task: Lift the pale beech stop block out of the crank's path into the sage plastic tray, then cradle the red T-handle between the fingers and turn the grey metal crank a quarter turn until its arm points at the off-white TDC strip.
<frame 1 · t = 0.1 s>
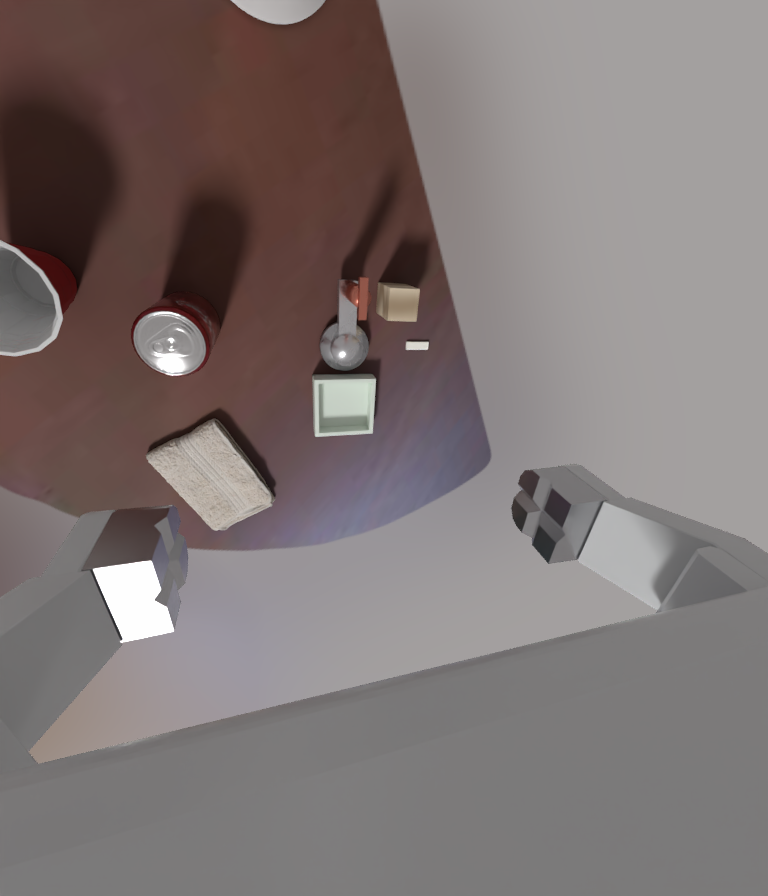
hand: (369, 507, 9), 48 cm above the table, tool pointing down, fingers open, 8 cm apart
tdc strip: (416, 345, 58), on the table
plastic cup: (49, 281, 43), on the table
stop block: (390, 298, 53), on the table
crank plinth: (343, 345, 55), on the table
tray: (342, 402, 59), on the table
crank: (353, 326, 47), point 7 cm above the table, hinge at 90.0°
washcloth: (217, 473, 60), on the table
soda can: (190, 320, 48), on the table
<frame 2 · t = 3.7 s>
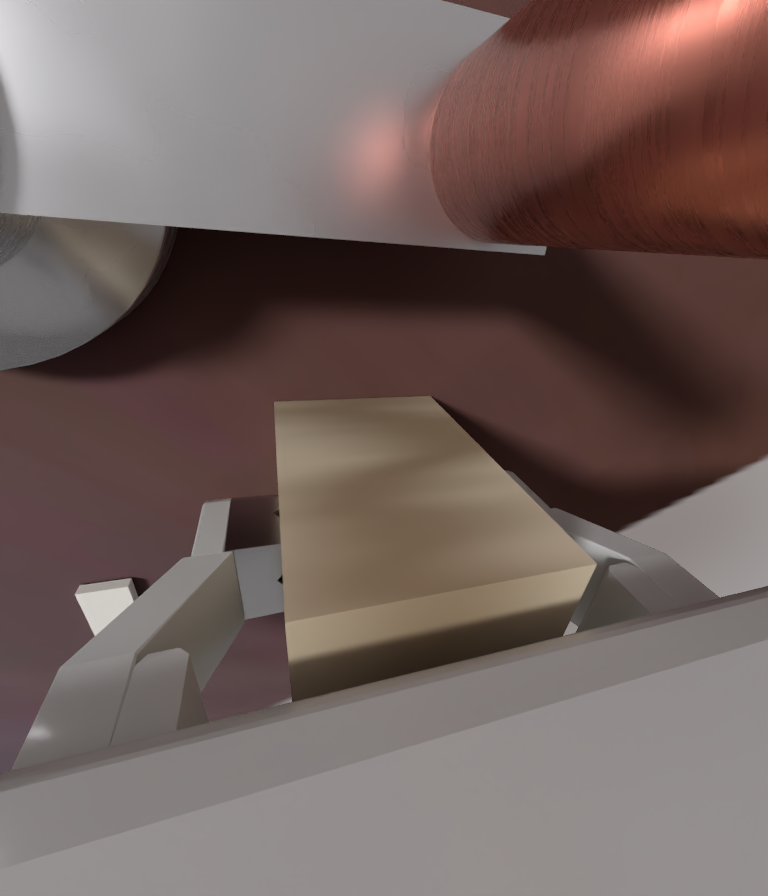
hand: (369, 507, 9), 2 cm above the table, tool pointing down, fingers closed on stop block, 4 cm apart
tdc strip: (123, 624, 11), on the table
stop block: (354, 466, 10), on the table, touching gripper
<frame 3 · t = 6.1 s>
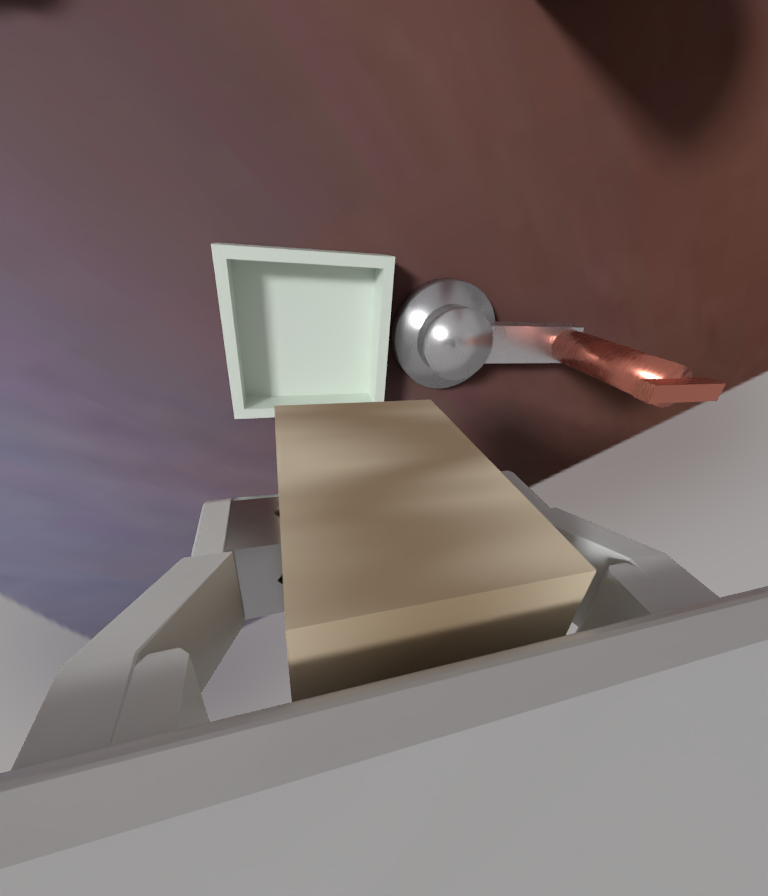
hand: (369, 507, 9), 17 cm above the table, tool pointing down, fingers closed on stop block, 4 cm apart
stop block: (354, 469, 10), point 16 cm above the table, touching gripper
crank plinth: (440, 333, 26), on the table
tray: (307, 331, 23), on the table
crank: (550, 362, 21), point 7 cm above the table, hinge at 90.0°
when the fingers open (5 cm above the table, at t = 8.8 s): stop block drops 2 cm, resting on tray.
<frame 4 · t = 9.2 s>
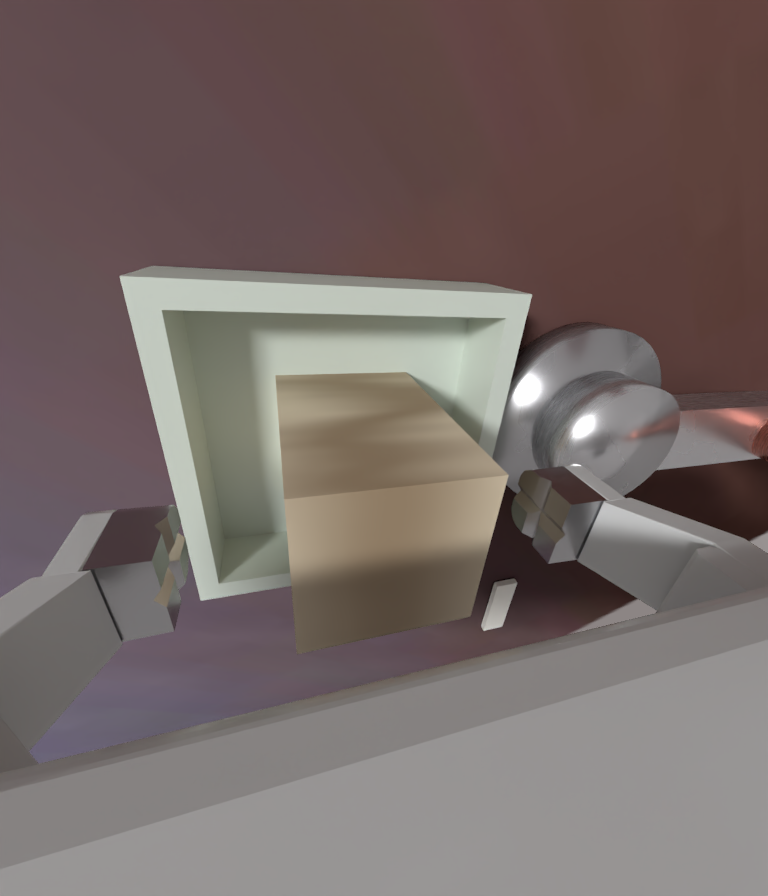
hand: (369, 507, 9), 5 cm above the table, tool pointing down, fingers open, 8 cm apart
tdc strip: (497, 603, 21), on the table
stop block: (342, 432, 12), resting on tray
crank plinth: (558, 411, 15), on the table
tray: (336, 424, 13), on the table
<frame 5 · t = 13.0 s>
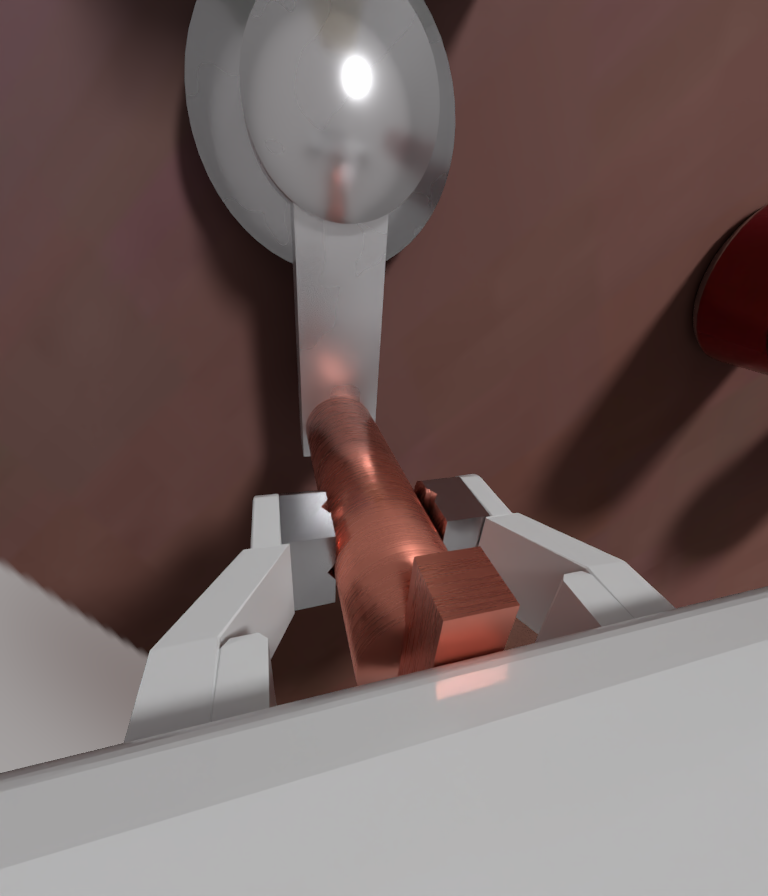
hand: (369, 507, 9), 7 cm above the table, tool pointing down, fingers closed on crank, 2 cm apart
crank plinth: (326, 137, 11), on the table
crank: (373, 328, 7), point 7 cm above the table, hinge at 90.0°, touching gripper
soda can: (746, 281, 18), on the table
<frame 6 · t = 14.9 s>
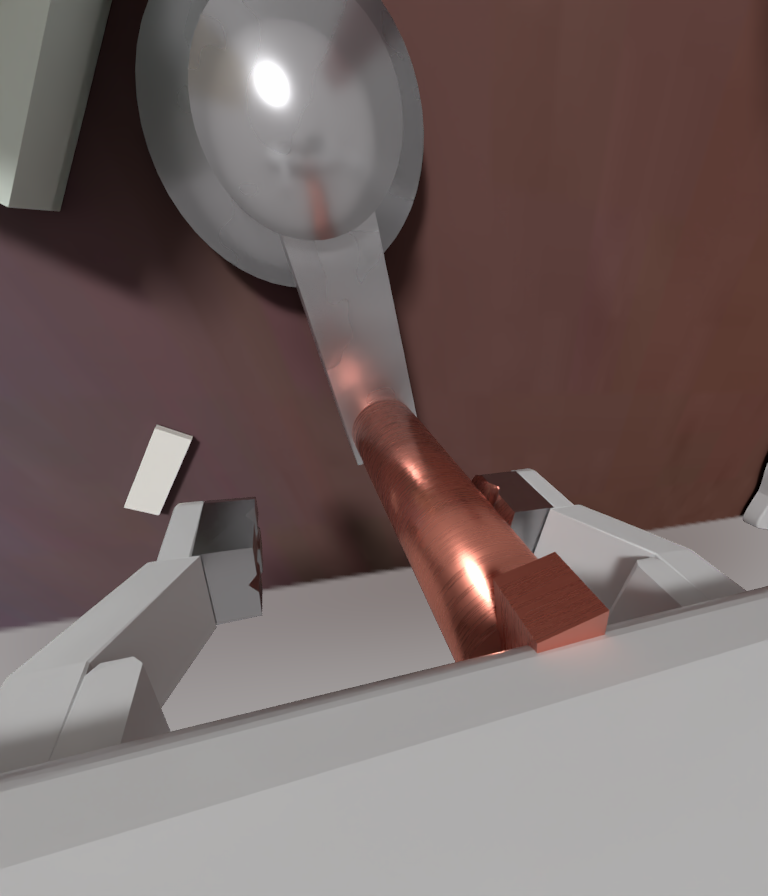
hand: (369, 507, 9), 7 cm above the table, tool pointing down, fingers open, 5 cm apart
tdc strip: (158, 470, 14), on the table
crank plinth: (291, 148, 11), on the table
crank: (393, 344, 7), point 7 cm above the table, hinge at 45.3°, touching gripper
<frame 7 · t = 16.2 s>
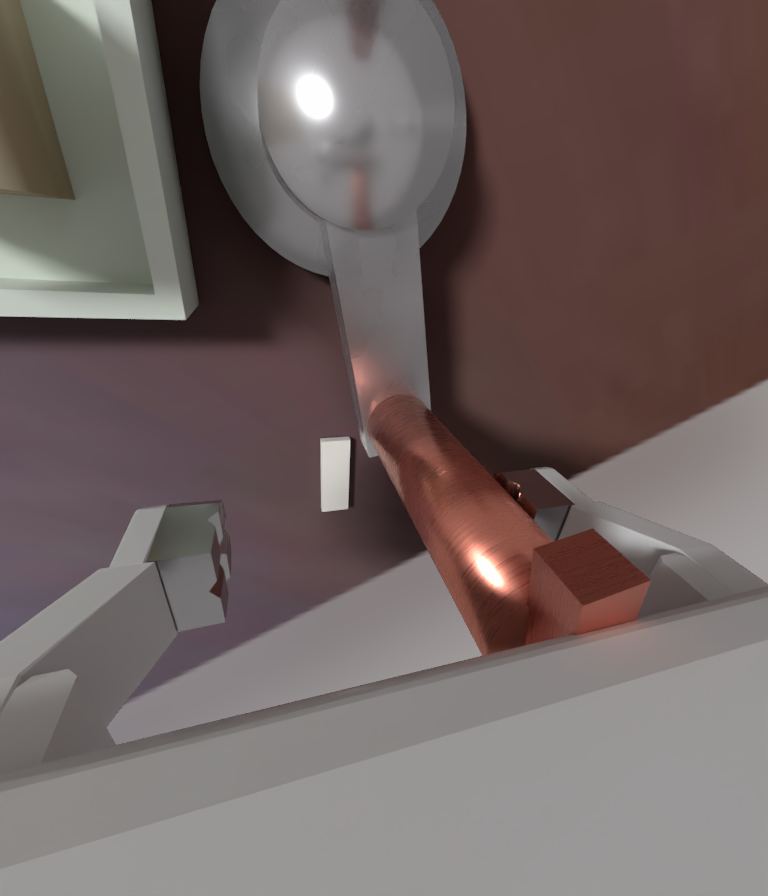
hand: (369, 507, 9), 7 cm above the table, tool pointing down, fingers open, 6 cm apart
tdc strip: (334, 473, 16), on the table
crank plinth: (337, 143, 11), on the table
crank: (433, 330, 8), point 7 cm above the table, hinge at 12.2°, touching gripper
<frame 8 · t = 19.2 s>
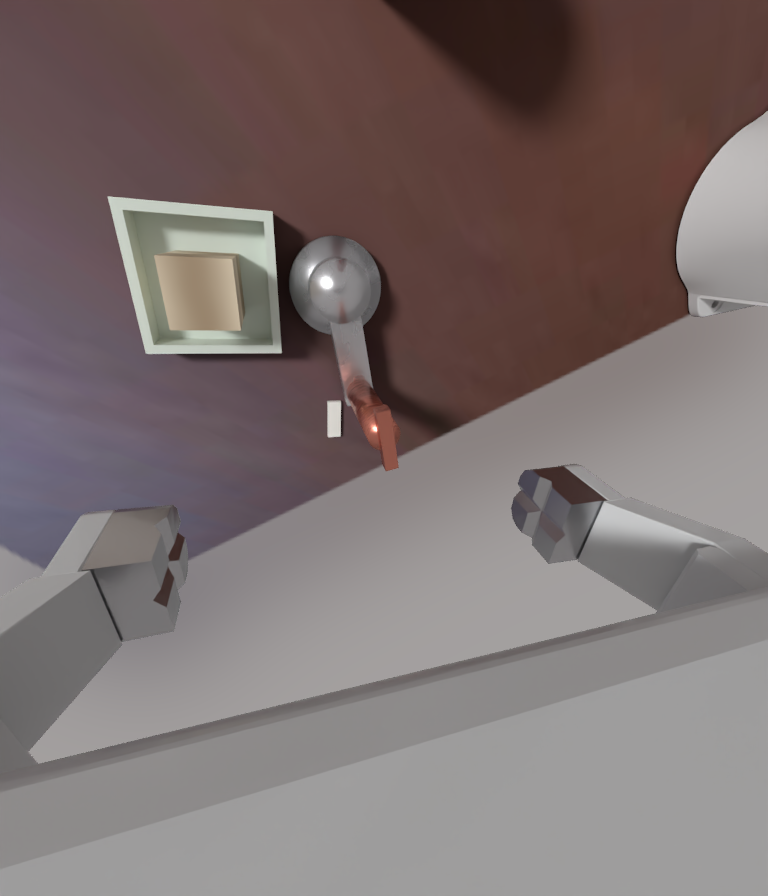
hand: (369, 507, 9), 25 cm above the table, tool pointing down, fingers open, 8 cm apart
tdc strip: (333, 418, 35), on the table
stop block: (212, 283, 27), resting on tray
crank plinth: (334, 286, 30), on the table
tray: (211, 281, 27), on the table
crank: (360, 359, 26), point 7 cm above the table, hinge at 12.2°
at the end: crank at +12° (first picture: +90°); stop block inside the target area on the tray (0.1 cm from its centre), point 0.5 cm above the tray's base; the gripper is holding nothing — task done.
